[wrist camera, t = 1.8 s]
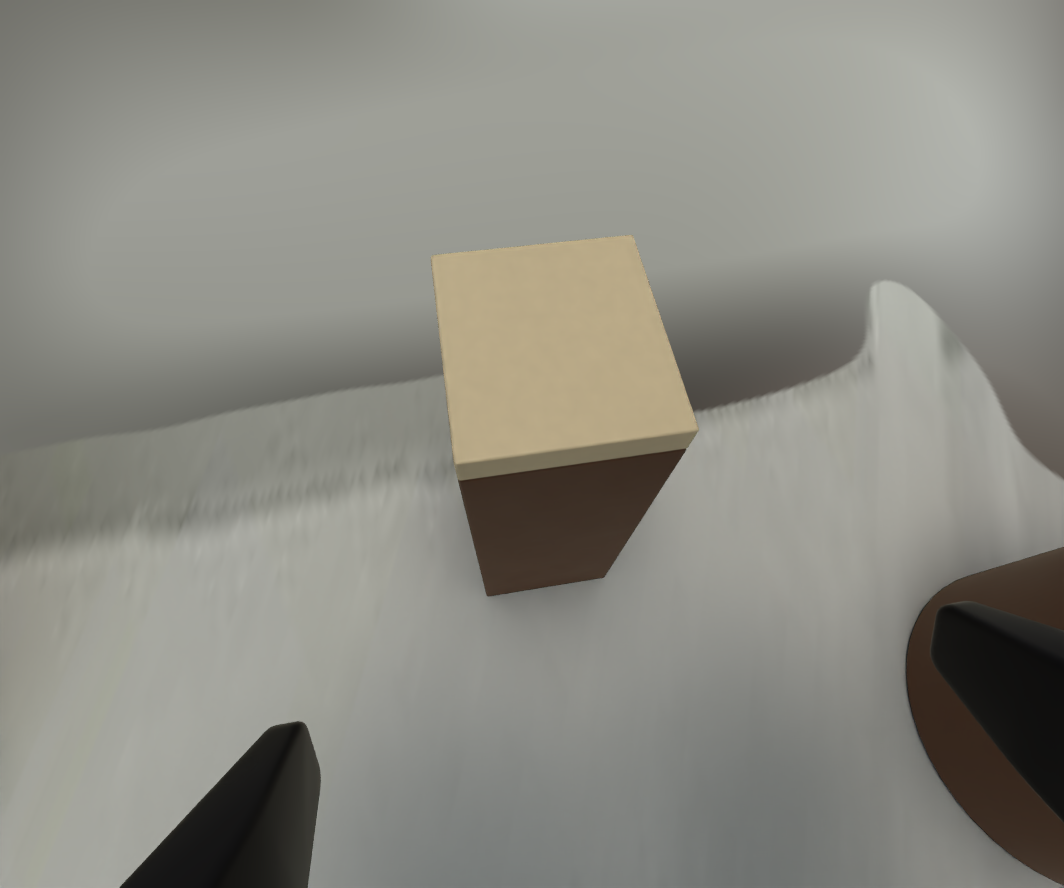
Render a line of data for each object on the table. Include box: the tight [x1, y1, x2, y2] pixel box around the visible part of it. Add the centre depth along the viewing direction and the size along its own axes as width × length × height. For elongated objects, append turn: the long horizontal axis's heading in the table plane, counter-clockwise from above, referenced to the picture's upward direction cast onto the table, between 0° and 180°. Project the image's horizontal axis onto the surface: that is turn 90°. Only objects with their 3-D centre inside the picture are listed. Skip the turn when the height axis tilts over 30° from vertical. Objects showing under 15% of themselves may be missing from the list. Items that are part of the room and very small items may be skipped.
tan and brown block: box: [431, 235, 699, 596], centre depth 16 cm, size 5×4×12 cm
